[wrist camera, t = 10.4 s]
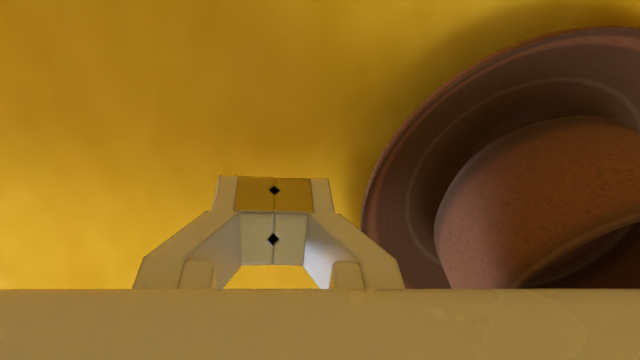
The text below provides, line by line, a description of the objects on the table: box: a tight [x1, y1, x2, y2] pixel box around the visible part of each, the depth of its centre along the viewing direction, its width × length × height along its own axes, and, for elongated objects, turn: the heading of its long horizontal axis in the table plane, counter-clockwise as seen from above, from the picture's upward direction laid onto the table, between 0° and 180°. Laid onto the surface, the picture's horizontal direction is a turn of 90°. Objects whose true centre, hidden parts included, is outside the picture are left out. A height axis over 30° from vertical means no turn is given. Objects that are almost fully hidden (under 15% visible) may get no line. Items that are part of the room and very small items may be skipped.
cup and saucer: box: [360, 26, 640, 289], centre depth 13 cm, size 12×12×6 cm
